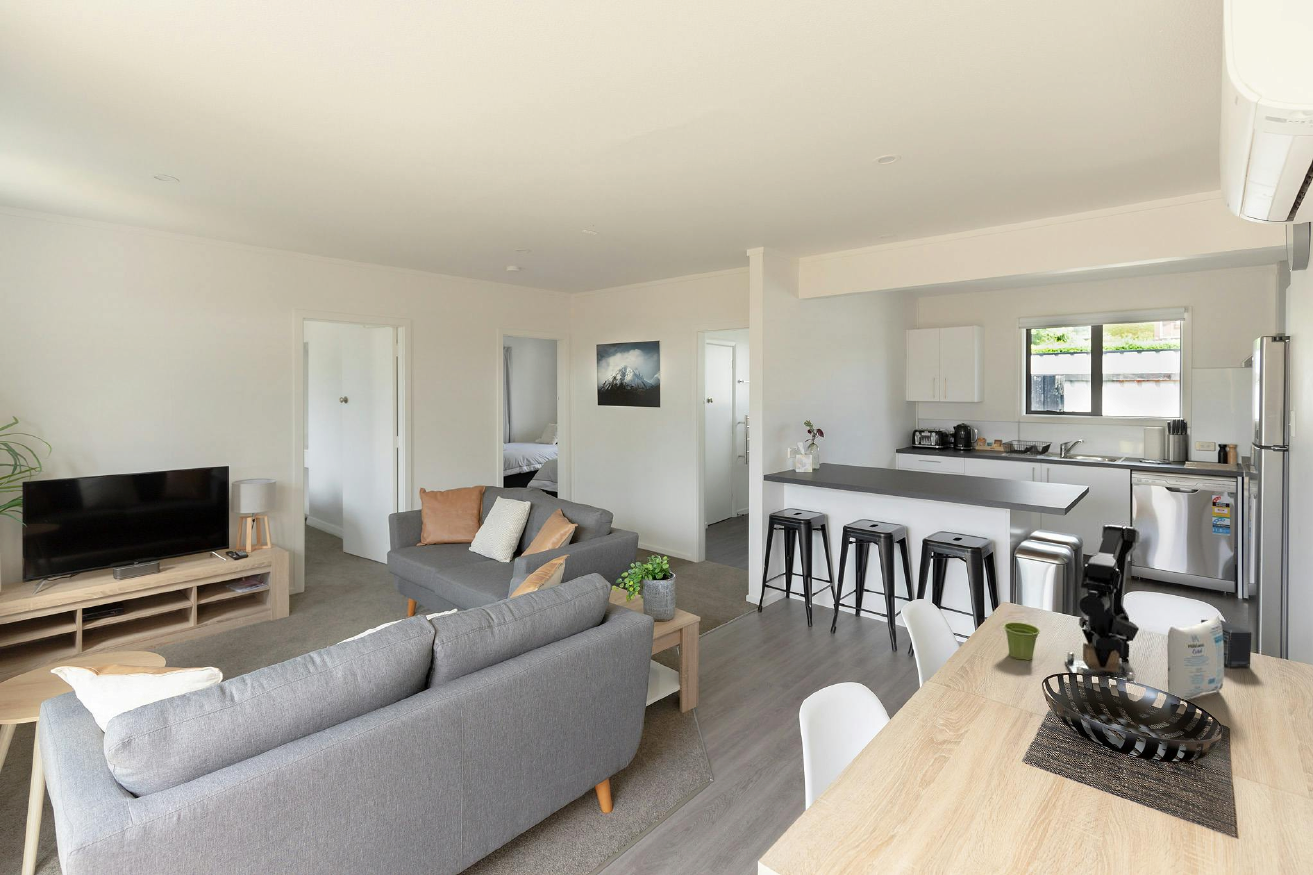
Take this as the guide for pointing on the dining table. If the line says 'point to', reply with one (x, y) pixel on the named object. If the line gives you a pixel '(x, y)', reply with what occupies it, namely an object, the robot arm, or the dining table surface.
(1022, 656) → the plant pot
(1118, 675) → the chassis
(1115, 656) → the brown block
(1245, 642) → the small box
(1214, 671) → the pouch
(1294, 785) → the dining table surface
